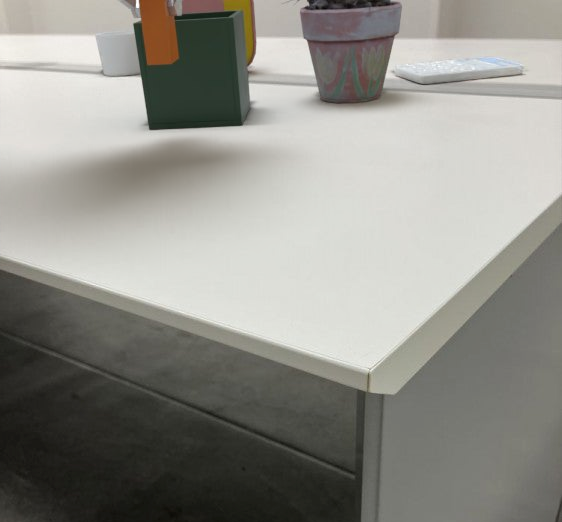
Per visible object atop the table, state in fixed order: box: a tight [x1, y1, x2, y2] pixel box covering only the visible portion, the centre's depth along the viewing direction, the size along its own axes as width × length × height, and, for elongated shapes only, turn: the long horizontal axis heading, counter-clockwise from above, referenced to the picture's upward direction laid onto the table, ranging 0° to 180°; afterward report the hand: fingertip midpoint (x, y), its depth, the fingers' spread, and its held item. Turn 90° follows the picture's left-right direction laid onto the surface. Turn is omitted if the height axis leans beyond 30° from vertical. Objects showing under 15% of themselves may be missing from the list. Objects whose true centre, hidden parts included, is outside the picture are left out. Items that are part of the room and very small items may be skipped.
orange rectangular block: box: [138, 0, 179, 65], centre depth 82 cm, size 3×5×10 cm, turn 177°
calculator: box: [394, 56, 525, 85], centre depth 124 cm, size 13×20×2 cm, turn 104°
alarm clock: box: [182, 0, 257, 68], centre depth 139 cm, size 18×11×19 cm, turn 49°
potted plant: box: [281, 0, 403, 104], centre depth 105 cm, size 18×20×25 cm
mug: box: [95, 29, 141, 77], centre depth 151 cm, size 13×10×8 cm
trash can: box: [132, 10, 251, 131], centre depth 100 cm, size 14×14×14 cm
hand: (158, 12), depth 82 cm, fingers closed on orange rectangular block, 3 cm apart
